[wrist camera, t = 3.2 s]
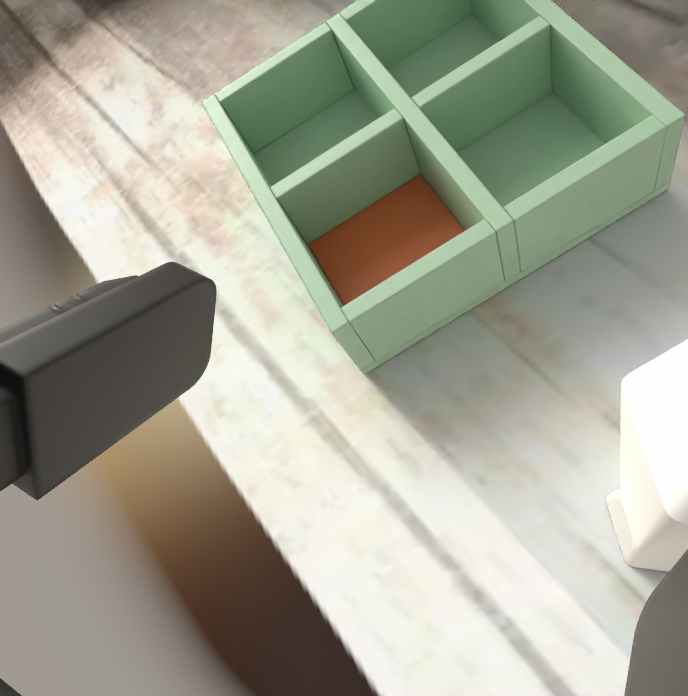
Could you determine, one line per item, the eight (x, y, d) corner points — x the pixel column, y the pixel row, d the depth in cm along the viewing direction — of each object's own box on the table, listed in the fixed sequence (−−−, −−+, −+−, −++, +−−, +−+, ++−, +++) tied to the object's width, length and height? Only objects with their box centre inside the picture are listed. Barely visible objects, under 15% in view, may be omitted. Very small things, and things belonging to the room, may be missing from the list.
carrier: (478, 8, 35) (467, -73, 31) (668, 189, 28) (686, 114, 24) (241, 160, 36) (200, 101, 32) (364, 375, 29) (331, 333, 25)
